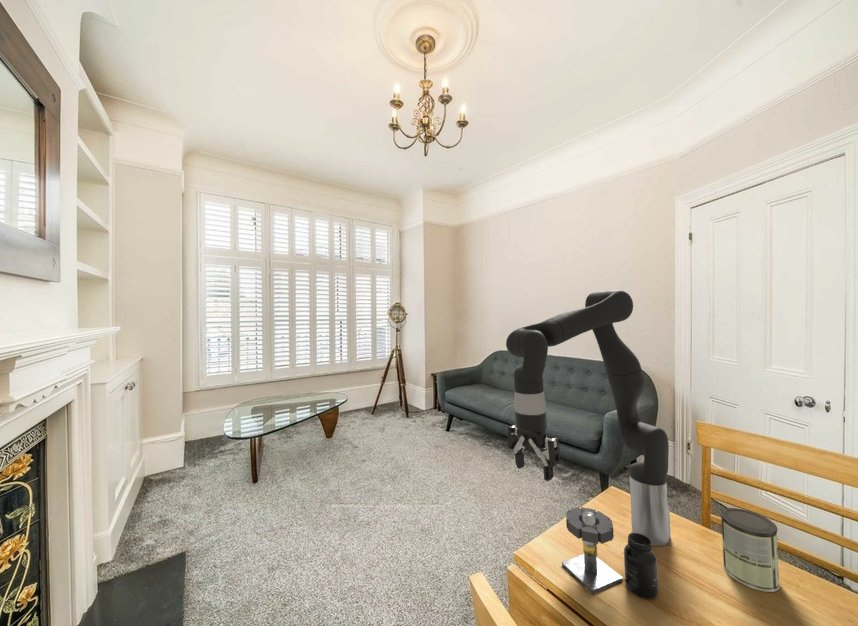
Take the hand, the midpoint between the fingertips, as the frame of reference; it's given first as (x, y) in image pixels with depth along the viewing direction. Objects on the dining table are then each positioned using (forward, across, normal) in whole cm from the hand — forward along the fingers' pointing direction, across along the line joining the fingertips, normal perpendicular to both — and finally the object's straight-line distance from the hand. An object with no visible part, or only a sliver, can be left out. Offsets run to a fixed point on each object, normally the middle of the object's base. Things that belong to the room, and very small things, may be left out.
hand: (533, 473), depth 83 cm
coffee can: (+29, -29, -44) cm, 60 cm away
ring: (+17, -6, -14) cm, 22 cm away
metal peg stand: (+28, -6, -13) cm, 31 cm away
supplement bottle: (+28, -15, -18) cm, 37 cm away
